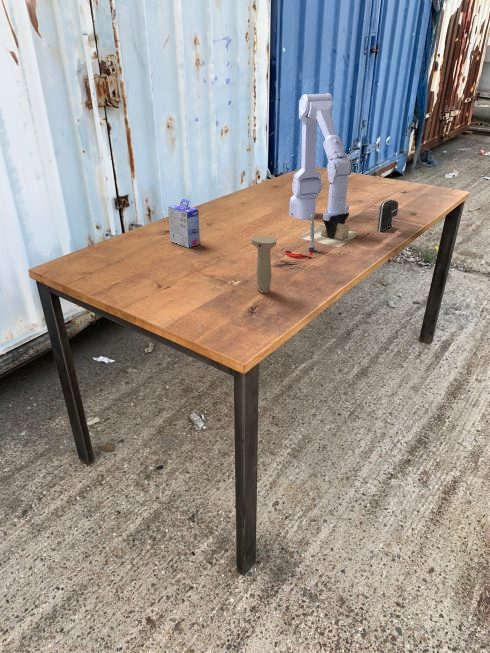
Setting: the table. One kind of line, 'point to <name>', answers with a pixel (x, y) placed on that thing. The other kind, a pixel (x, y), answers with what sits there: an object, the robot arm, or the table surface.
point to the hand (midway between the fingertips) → (334, 235)
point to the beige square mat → (327, 240)
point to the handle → (264, 261)
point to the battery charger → (387, 215)
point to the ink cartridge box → (184, 224)
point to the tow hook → (312, 243)
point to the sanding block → (337, 231)
